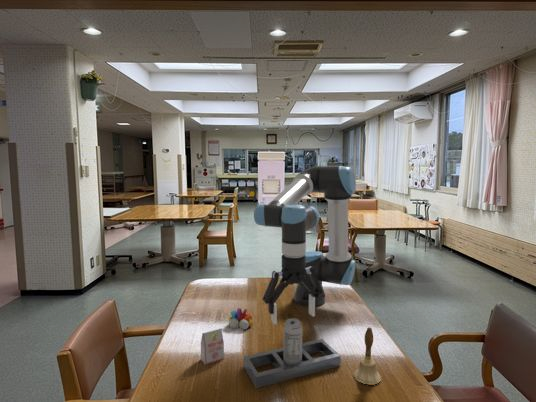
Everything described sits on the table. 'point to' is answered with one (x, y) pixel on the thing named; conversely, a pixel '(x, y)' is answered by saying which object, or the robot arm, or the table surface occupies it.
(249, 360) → the rack
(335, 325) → the table surface
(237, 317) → the rainbow disc toy
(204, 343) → the white printed box
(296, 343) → the energy drink can
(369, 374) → the hand bell
